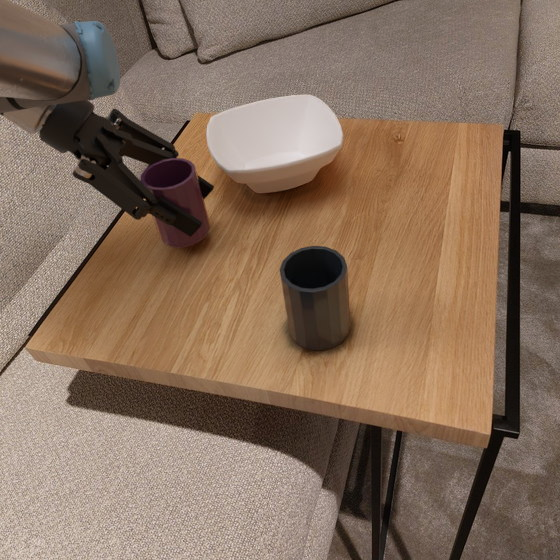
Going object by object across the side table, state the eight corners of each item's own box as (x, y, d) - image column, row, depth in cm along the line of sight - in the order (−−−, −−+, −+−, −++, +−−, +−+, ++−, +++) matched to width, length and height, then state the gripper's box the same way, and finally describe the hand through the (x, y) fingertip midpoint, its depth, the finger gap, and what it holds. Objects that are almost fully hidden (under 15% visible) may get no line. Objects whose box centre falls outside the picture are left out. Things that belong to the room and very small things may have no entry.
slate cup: (328, 360, 68) (322, 300, 61) (277, 335, 72) (266, 276, 65) (361, 319, 72) (359, 258, 65) (311, 297, 76) (304, 238, 69)
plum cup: (186, 253, 82) (168, 195, 75) (149, 237, 85) (129, 180, 78) (220, 224, 85) (206, 166, 78) (184, 209, 89) (167, 152, 82)
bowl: (359, 196, 90) (357, 147, 84) (227, 227, 88) (216, 180, 82) (322, 132, 105) (318, 87, 99) (209, 157, 103) (198, 113, 97)
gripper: (29, 135, 64) (202, 244, 73) (92, 55, 79) (230, 153, 87) (6, 177, 69) (171, 275, 77) (69, 94, 83) (203, 184, 92)
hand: (202, 210), depth 82 cm, fingers closed on plum cup, 7 cm apart
